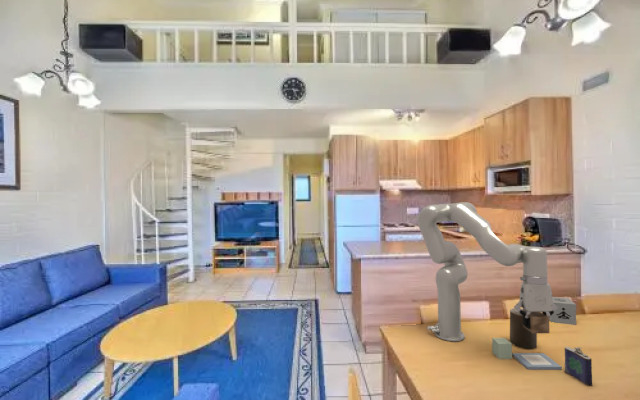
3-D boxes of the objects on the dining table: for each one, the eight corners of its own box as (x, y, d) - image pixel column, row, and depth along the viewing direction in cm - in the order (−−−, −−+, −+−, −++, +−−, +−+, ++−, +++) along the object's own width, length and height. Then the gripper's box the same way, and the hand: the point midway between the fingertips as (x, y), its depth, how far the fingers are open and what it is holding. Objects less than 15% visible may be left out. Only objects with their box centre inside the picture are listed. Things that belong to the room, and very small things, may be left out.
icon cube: (545, 315, 167) (545, 296, 166) (568, 317, 163) (568, 298, 163) (551, 322, 157) (551, 302, 157) (576, 325, 154) (575, 304, 153)
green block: (498, 359, 124) (498, 343, 124) (492, 352, 129) (492, 337, 129) (511, 359, 124) (511, 343, 123) (505, 352, 129) (504, 337, 128)
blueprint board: (527, 369, 116) (527, 366, 116) (512, 355, 126) (512, 352, 126) (561, 369, 115) (561, 366, 115) (543, 355, 125) (543, 353, 125)
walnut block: (532, 333, 118) (532, 317, 118) (523, 326, 124) (522, 311, 124) (549, 333, 117) (549, 317, 117) (538, 326, 123) (538, 311, 123)
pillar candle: (528, 351, 129) (528, 314, 129) (504, 341, 138) (504, 307, 137) (541, 346, 133) (542, 310, 133) (518, 337, 142) (518, 303, 142)
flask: (562, 371, 114) (562, 341, 114) (570, 370, 115) (569, 341, 115) (587, 386, 105) (587, 354, 105) (595, 385, 106) (595, 353, 105)
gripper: (517, 282, 117) (518, 331, 117) (566, 282, 116) (567, 331, 116) (506, 277, 124) (507, 323, 125) (551, 277, 124) (552, 323, 124)
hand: (536, 326), depth 120 cm, fingers closed on walnut block, 6 cm apart
